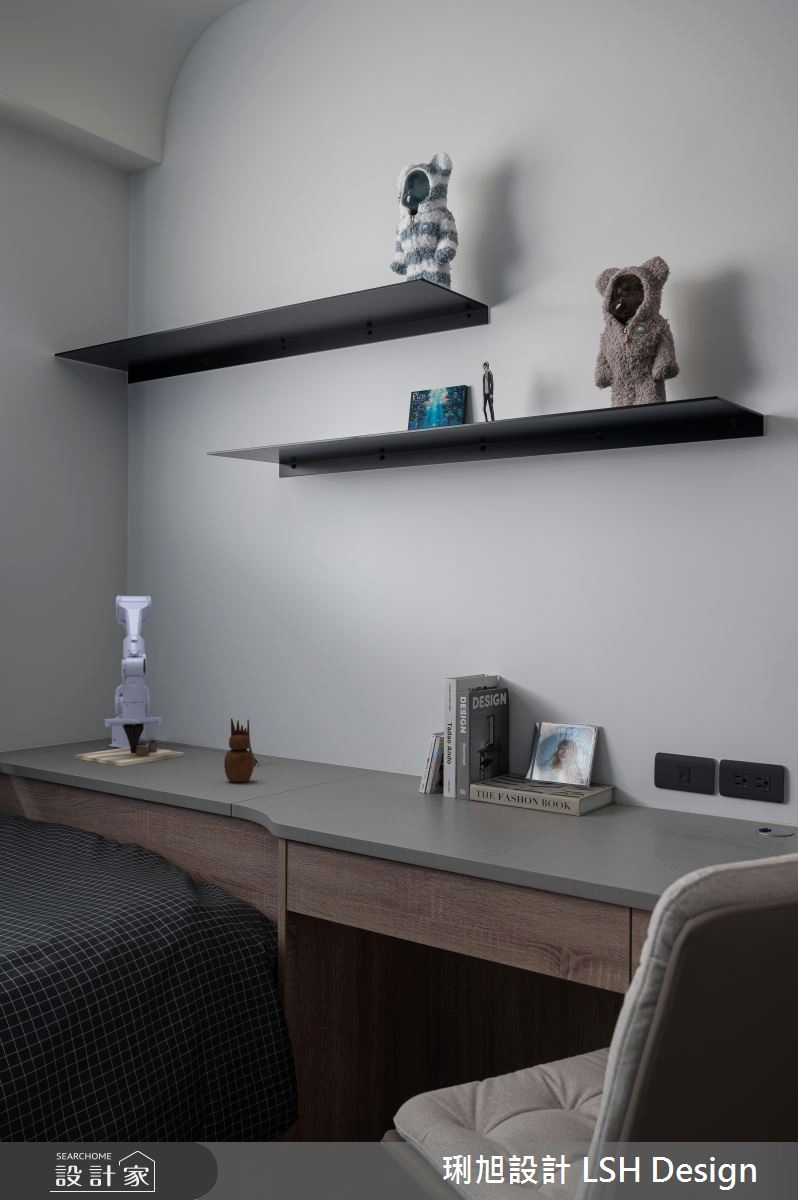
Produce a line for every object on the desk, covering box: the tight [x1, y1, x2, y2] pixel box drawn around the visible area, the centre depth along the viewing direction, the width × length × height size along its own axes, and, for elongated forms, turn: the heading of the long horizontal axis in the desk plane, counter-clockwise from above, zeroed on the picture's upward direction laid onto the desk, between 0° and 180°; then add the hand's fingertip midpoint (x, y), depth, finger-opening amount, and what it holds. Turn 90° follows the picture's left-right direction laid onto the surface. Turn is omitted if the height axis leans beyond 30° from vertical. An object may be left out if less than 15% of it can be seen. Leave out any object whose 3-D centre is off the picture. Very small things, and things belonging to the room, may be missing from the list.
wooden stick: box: [136, 737, 149, 756], centre depth 264 cm, size 16×3×3 cm, turn 20°
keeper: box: [138, 737, 158, 753], centre depth 264 cm, size 4×6×3 cm, turn 114°
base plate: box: [75, 747, 185, 767], centre depth 261 cm, size 19×21×1 cm
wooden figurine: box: [223, 718, 255, 783], centre depth 228 cm, size 7×6×15 cm
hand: (133, 752), depth 257 cm, fingers closed
